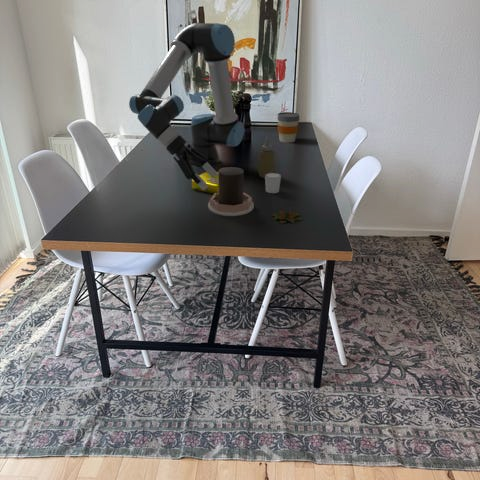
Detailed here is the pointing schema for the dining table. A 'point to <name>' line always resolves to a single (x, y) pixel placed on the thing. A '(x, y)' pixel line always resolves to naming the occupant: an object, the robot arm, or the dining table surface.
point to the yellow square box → (208, 183)
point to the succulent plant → (286, 214)
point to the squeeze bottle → (266, 159)
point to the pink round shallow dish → (231, 206)
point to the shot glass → (272, 182)
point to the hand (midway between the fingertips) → (211, 182)
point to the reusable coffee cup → (287, 126)
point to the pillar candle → (231, 186)
